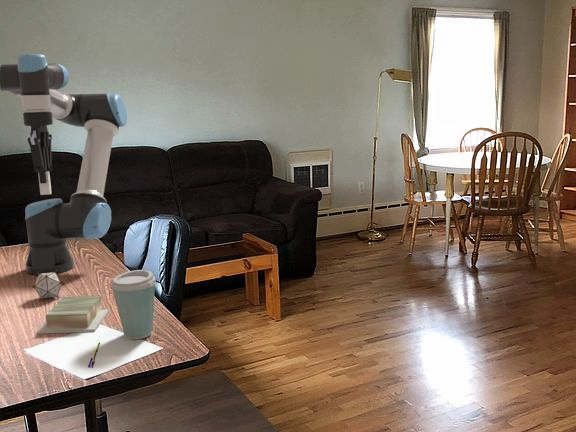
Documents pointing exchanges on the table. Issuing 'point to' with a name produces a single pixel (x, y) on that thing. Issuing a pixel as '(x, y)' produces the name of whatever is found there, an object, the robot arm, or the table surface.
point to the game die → (48, 285)
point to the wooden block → (74, 312)
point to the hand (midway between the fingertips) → (46, 194)
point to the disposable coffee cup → (135, 302)
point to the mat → (91, 328)
